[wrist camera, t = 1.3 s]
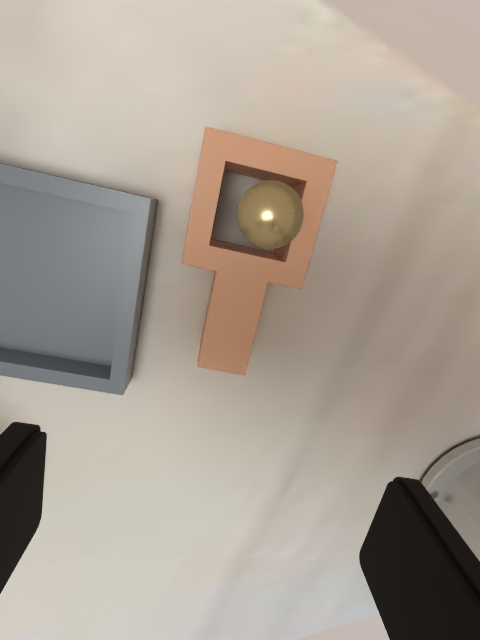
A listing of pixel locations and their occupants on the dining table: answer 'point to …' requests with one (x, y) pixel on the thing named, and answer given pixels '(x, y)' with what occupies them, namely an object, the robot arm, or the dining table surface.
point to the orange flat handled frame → (243, 262)
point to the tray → (71, 279)
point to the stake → (270, 214)
